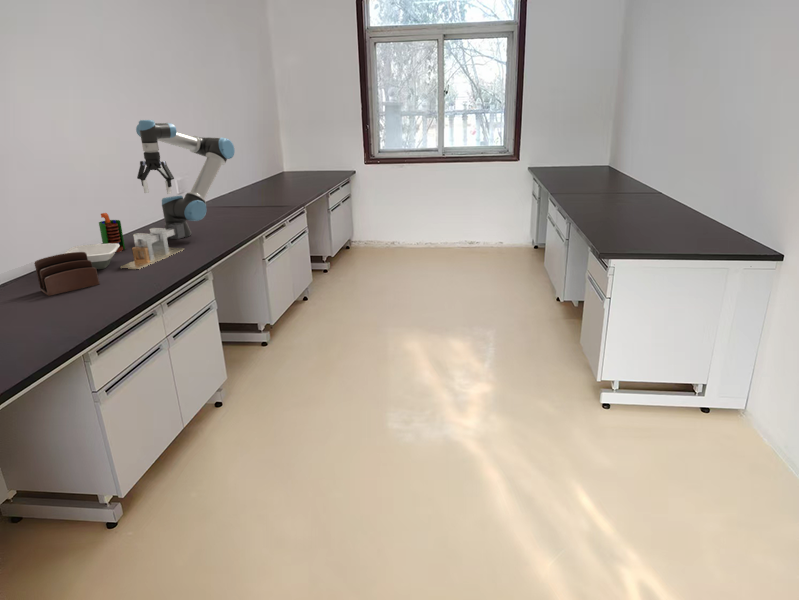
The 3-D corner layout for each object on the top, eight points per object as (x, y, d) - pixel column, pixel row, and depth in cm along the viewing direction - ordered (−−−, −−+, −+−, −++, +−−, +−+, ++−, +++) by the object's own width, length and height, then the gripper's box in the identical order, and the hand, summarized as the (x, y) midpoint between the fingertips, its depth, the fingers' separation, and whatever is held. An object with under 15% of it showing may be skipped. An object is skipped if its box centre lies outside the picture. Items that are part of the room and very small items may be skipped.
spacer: (134, 262, 261) (131, 248, 258) (137, 260, 262) (134, 247, 260) (147, 262, 259) (145, 248, 257) (150, 261, 261) (147, 247, 259)
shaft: (140, 249, 263) (138, 235, 260) (177, 235, 290) (175, 223, 287) (149, 250, 262) (147, 236, 259) (185, 236, 289) (183, 223, 286)
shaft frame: (120, 268, 254) (115, 239, 249) (167, 249, 287) (163, 223, 282) (139, 269, 252) (133, 240, 247) (184, 250, 285) (180, 224, 280)
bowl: (62, 275, 244) (58, 257, 241) (76, 262, 265) (72, 245, 262) (115, 271, 250) (112, 254, 247) (125, 258, 270) (122, 242, 267)
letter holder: (40, 291, 225) (32, 258, 220) (91, 280, 238) (85, 249, 233) (48, 296, 218) (40, 263, 213) (100, 284, 232) (93, 253, 227)
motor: (114, 253, 279) (107, 215, 272) (99, 253, 281) (92, 215, 274) (127, 248, 288) (120, 211, 281) (113, 248, 290) (106, 211, 283)
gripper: (125, 151, 275) (132, 193, 283) (168, 152, 270) (174, 194, 277) (135, 150, 282) (142, 191, 290) (177, 151, 277) (183, 192, 284)
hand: (158, 193), depth 284 cm, fingers open, 13 cm apart
